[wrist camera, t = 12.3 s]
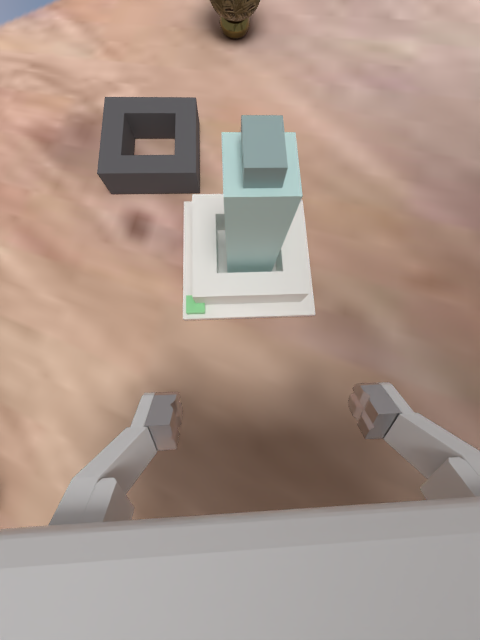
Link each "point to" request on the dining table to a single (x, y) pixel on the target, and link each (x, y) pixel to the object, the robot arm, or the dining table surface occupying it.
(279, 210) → the plug
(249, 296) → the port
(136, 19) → the dining table surface
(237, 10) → the cup
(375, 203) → the dining table surface
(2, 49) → the dining table surface
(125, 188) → the holster
